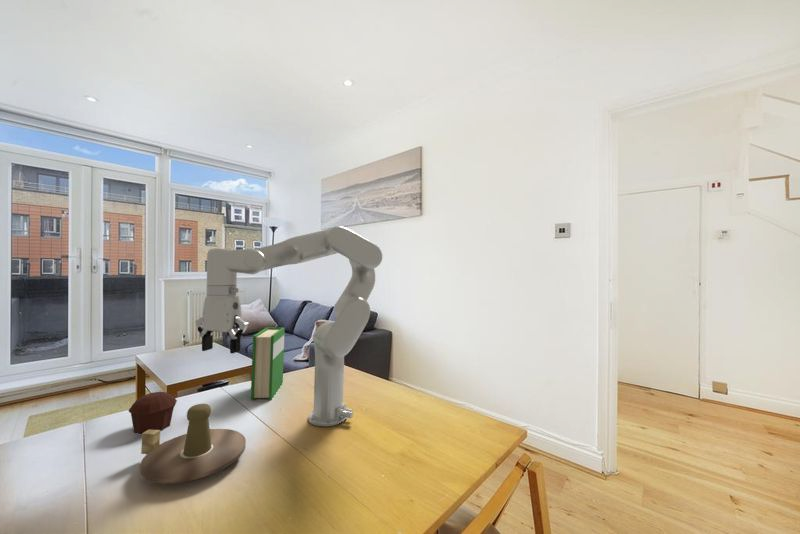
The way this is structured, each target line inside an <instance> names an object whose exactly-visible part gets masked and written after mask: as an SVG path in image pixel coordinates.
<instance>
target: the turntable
mask: <svg viewBox="0 0 800 534" xmlns="http://www.w3.org/2000/svg"><path fill="white" fill-rule="evenodd" d="M186 436H187V433H184V434H181V435H178V436H175V437H173V438H171V439H168V440H166V441H164V442H162V443H160V441H161V431H160V430H147V431H146V432H144V433H142V435H141V453H140V454H141V455H144V457H143V458H142V459H141V461H140V463H139V464H140V465H139V472H140V476H141V477H142V478H143V479H144V480H147V481H148V482H153V483H156V484H178V483H185V482H190V481H194V480H198V479H200V478H201V479H202V478H204V477H207V476H209V475H213V474H215V473H217V472H220V471H222V470H223V469H225V468H226V467H228V466H230V465H232V464H233V463H234V462H236V461H237V460H238V459H239V458H240V457H241V456H242V455H243V454H244V452H245V450H246V443H247V442H246V437H245V436H244V434H243V433H241V432H239V431H237V430H234V429H230V428H210V437H211V446H212V448H211V449H210V450H209V451H208V452H206V453H205V454H202V455H199V456H194V457H187V456H184V454H183V451H184V446H185V441H186Z"/></svg>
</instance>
